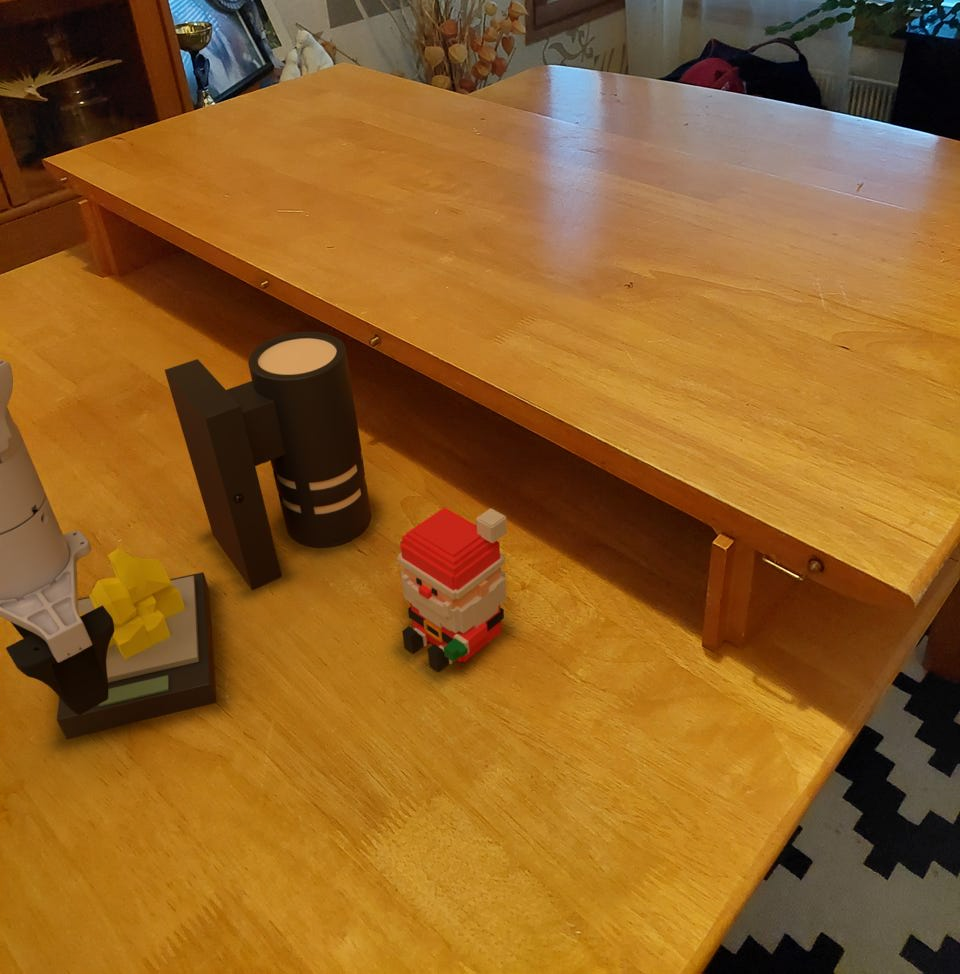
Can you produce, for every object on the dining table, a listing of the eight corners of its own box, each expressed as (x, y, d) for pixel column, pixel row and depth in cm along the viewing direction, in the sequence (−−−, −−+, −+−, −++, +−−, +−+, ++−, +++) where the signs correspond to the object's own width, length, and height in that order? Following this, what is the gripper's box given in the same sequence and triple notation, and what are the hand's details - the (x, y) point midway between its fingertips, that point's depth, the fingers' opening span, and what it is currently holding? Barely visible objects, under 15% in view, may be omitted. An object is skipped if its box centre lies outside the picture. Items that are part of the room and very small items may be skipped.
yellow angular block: (72, 630, 74) (39, 557, 69) (167, 584, 77) (142, 512, 73) (97, 673, 70) (64, 599, 65) (196, 623, 73) (172, 550, 69)
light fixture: (391, 529, 86) (367, 361, 75) (253, 592, 80) (206, 419, 69) (342, 479, 92) (314, 318, 82) (212, 534, 87) (163, 368, 76)
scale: (216, 703, 71) (208, 678, 69) (65, 739, 68) (53, 714, 67) (209, 590, 81) (201, 566, 79) (77, 619, 79) (67, 595, 77)
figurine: (385, 635, 75) (367, 521, 68) (447, 589, 79) (436, 476, 72) (460, 689, 70) (449, 572, 63) (522, 637, 74) (518, 522, 67)
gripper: (111, 536, 50) (174, 701, 58) (19, 429, 59) (84, 585, 67) (-23, 599, 46) (64, 765, 55) (-99, 476, 55) (-15, 634, 64)
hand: (68, 670), depth 61 cm, fingers open, 7 cm apart
